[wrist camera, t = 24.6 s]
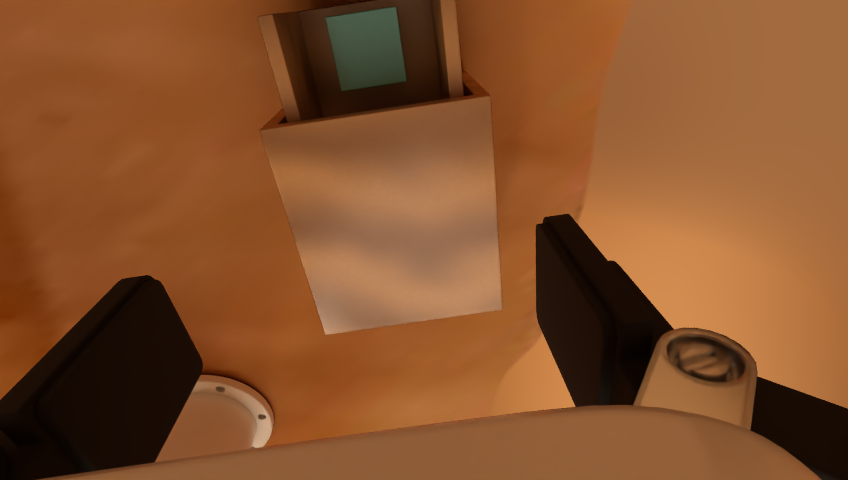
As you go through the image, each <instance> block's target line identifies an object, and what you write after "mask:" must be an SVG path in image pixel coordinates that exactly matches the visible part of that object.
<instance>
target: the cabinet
mask: <svg viewBox="0 0 848 480" xmlns="http://www.w3.org/2000/svg"><path fill="white" fill-rule="evenodd" d="M462 79H463V91H464V97H457V98H450V99H444V100H437V101H430V102H424V103H417V104H410V105H404V106H397V107H390V108H384V109H377V110H370V111H364V112H357V113H350V114H344V115H337V116H330V117H324V118H317V119H310V120H304V121H297V122H291V123H287V119H286V116H285V112H284V109H282V110H280V111H279V112H278V113H277V114H276V115H275V116H274V117H273V118H272V119H271V120H270V121H269V122H268V123H266V124H265V125H264V126H263V127H262V128H261V129H260V130H259V132H260V135H261V138H262V141H263V144H264V147H265V150H266V153H267V156H268V159H269V163H270V166H271V169H272V172H273V175H274V178H275V181H276V184H277V187H278V190H279V193H280V197H281V200H282V203H283V206H284V209H285V212H286V215H287V218H288V221H289V224H290V228H291V231H292V234H293V237H294V240H295V243H296V246H297V249H298V252H299V255H300V258H301V262H302V265H303V268H304V271H305V274H306V277H307V280H308V283H309V286H310V289H311V293H312V296H313V299H314V302H315V305H316V308H317V311H318V314H319V317H320V320H321V323H322V327H323V330H324V333H325V335H330V334H337V333H344V332H351V331H358V330H365V329H372V328H379V327H386V326H393V325H400V324H407V323H414V322H421V321H428V320H435V319H442V318H449V317H456V316H462V315H469V314H476V313H483V312H490V311H497V310H502V309H503V305H502V287H501V269H500V251H499V233H498V215H497V197H496V179H495V161H494V143H493V126H492V108H491V96H490V95H489V94H488V93H487V92H486V91H485V90H484V89H483V88H482V87H481V86H480V85H479V84H478V83H477V82H476V81H475V80H474V79H473V78H472V77H471V76H470V75H469V74H468V73H467V72H466V71H462Z"/></svg>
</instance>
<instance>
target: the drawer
mask: <svg viewBox="0 0 848 480" xmlns="http://www.w3.org/2000/svg"><path fill="white" fill-rule="evenodd" d="M393 6H396V9H397V16H398V23H399V30H400V37H401V44H402V51H403V57H404V64H405V71H406V78H407V82H401V83H394V84H388V85H381V86H374V87H368V88H361V89H355V90H348V91H341V88H340V83H339V79H338V74H337V70H336V65H335V61H334V56H333V51H332V47H331V42H330V38H329V33H328V29H327V24H326V19H325V17H329V16H334V15H341V14H347V13H354V12H360V11H367V10H374V9H380V8H387V7H393ZM257 18H258V22H259V25H260V29H261V32H262V36H263V39H264V43H265V46H266V50H267V53H268V57H269V60H270V64H271V67H272V70H273V74H274V77H275V81H276V84H277V88H278V91H279V95H280V98H281V102H282V105H283V109H284V112H285V116H286V119H287V123H291V122H297V121H304V120H310V119H317V118H324V117H330V116H337V115H344V114H350V113H357V112H364V111H370V110H377V109H384V108H390V107H397V106H404V105H410V104H417V103H424V102H430V101H437V100H444V99H450V98H457V97H464V91H463V79H462V67H461V56H460V44H459V32H458V21H457V9H456V0H370V1H364V2H357V3H351V4H344V5H338V6H331V7H325V8H318V9H312V10H305V11H299V12H288V13H276V14H267V15H261V16H257Z"/></svg>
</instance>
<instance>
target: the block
mask: <svg viewBox="0 0 848 480" xmlns="http://www.w3.org/2000/svg"><path fill="white" fill-rule="evenodd" d="M325 19H326V24H327V29H328V33H329V38H330V42H331V47H332V51H333V56H334V61H335V65H336V70H337V74H338V79H339V83H340V88H341V91H348V90H355V89H361V88H368V87H374V86H381V85H388V84H394V83H401V82H407V78H406V71H405V64H404V57H403V51H402V44H401V37H400V30H399V23H398V16H397V9H396V6H393V7H387V8H380V9H374V10H367V11H360V12H354V13H347V14H341V15H334V16H329V17H325Z"/></svg>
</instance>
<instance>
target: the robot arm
mask: <svg viewBox="0 0 848 480" xmlns="http://www.w3.org/2000/svg"><path fill="white" fill-rule="evenodd" d="M536 312H537V319H538V323H539V325H540V328H541V330H542V332H543V335H544V337H545V339H546V341H547V344H548V346H549V348H550V350H551V352H552V355H553V357H554V359H555V361H556V364H557V366H558V368H559V370H560V373H561V375H562V377H563V379H564V382H565V384H566V386H567V388H568V390H569V392H570V395H571V397H572V400H573V402H574V404H575V406H576V407H572V408H561V409H550V410H539V411H529V412H520V413H514V414H506V415H498V416H490V417H482V418H473V419H465V420H458V421H450V422H443V423H435V424H428V425H421V426H413V427H406V428H398V429H391V430H383V431H376V432H368V433H361V434H353V435H346V436H339V437H331V438H324V439H317V440H310V441H302V442H295V443H288V444H281V445H274V446H266V447H263V446H264V445H265V444H266V442H267V441H268V439H269V438H270V435H271V432H272V429H273V424H274V416H273V412H272V410H271V407H270V406H269V404H268V403H267V401H266V400H265V399H264V398H263V397H262V396H261V395H260V394H259V393H258V392H257V391H255V390H254V389H252V388H251V387H249V386H247V385H245V384H243V383H241V382H239V381H236V380H233V379H230V378H226V377H221V376H215V375H201V373H202V369H203V363H202V359H201V357H200V355H199V353H198V351H197V349H196V347H195V345H194V343H193V342H192V340H191V338H190V336H189V334H188V332H187V330H186V328H185V326H184V324H183V323H182V321H181V319H180V317H179V315H178V313H177V311H176V309H175V307H174V305H173V304H172V302H171V300H170V298H169V296H168V294H167V292H166V290H165V288H164V286H163V285H162V283H161V282H160V281H158V280H155V279H154V278H152V277H151V276H148V275H145V276H138V277H131V278H125V279H121V280H120V281H119V282H118V283H117V284H116V285H115V286H114V287H113V288H112V289H111V290H110V291H109V292H108V293H107V294H106V295H105V296H104V297H103V298H102V299H101V300H100V301H99V302H98V303H97V304H96V305H95V306H94V307H93V308H92V309H91V310H90V311H89V312H88V313H87V314H86V315H85V316H84V317H83V318H82V319H81V320H80V321H79V322H78V323H77V324H76V325H75V326H74V327H73V328H72V329H71V330H70V331H69V332H68V333H67V334H66V335H65V336H64V337H63V338H62V339H61V340H60V341H59V342H58V343H57V344H56V345H55V346H54V347H53V348H52V349H51V350H50V351H49V352H48V353H47V354H46V355H45V356H44V357H43V358H42V359H41V360H40V361H39V362H38V363H37V364H36V365H35V366H34V367H33V368H32V369H31V370H30V371H29V372H28V373H27V374H26V375H25V376H24V377H23V378H22V379H21V380H20V381H19V382H18V383H17V384H16V385H15V386H14V387H13V388H12V389H11V390H10V391H9V392H8V393H7V394H6V395H5V396H4V397H3V398H2V399H1V400H0V480H848V409H847V408H844V407H841V406H839V405H836V404H833V403H830V402H827V401H825V400H822V399H819V398H816V397H813V396H811V395H808V394H805V393H802V392H799V391H797V390H794V389H791V388H788V387H785V386H783V385H780V384H777V383H774V382H771V381H769V380H766V379H763V378H760V377H757V366H756V362H755V361H754V359H753V357H752V356H751V354H750V353H749V352H748V351H747V350H746V349H745V348H743V347H742V346H741V345H740V344H739V343H737V342H735V341H734V340H732V339H730V338H728V337H726V336H724V335H721V334H719V333H716V332H713V331H710V330H704V329H699V328H679V329H675V330H674V329H673V328H672V327H671V325H670V324H669V323H668V322H667V321H666V320H665V319H664V317H663V316H662V315H661V314H660V312H659V311H658V310H657V309H656V308H655V307H654V305H653V304H652V303H651V302H650V301H649V300H648V299H647V297H646V296H645V295H644V294H643V293H642V292H641V290H640V289H639V288H638V287H637V286H636V285H635V283H634V282H633V281H632V280H631V279H630V277H629V276H628V275H627V274H626V273H625V272H624V270H623V269H622V268H621V267H620V266H619V265H618V264H617V263H616V262H615V261H607V259H606V258H605V257H604V256H603V255H602V253H601V252H600V251H599V250H598V248H597V247H596V246H595V245H594V244H593V243H592V241H591V240H590V239H589V238H588V236H587V235H586V234H585V233H584V231H583V230H582V229H581V228H580V227H579V225H578V224H577V223H576V222H575V221H574V219H573V218H572V217H571V216H570V215H569V214H563V215H556V216H549V217H545V218H544V220H543V223H542V224H537V225H536Z"/></svg>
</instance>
